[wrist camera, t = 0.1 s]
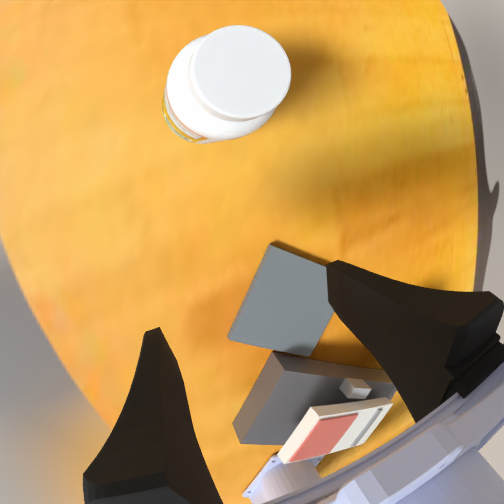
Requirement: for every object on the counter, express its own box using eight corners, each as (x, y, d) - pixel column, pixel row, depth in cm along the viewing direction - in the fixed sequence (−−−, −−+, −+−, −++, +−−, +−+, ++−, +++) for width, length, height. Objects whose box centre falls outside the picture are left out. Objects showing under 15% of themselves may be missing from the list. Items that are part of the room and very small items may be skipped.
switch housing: (347, 428, 35) (365, 450, 31) (231, 424, 28) (245, 456, 24) (387, 369, 33) (410, 390, 29) (272, 350, 27) (293, 381, 23)
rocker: (356, 437, 30) (364, 444, 29) (276, 454, 24) (285, 465, 23) (386, 396, 30) (394, 404, 28) (310, 406, 23) (320, 418, 22)
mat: (306, 353, 28) (309, 356, 28) (227, 335, 25) (229, 339, 25) (347, 274, 27) (351, 277, 26) (269, 243, 24) (272, 246, 23)
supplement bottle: (245, 72, 20) (312, 25, 11) (238, 147, 21) (303, 144, 12) (166, 64, 18) (182, 0, 9) (157, 142, 19) (164, 131, 11)
